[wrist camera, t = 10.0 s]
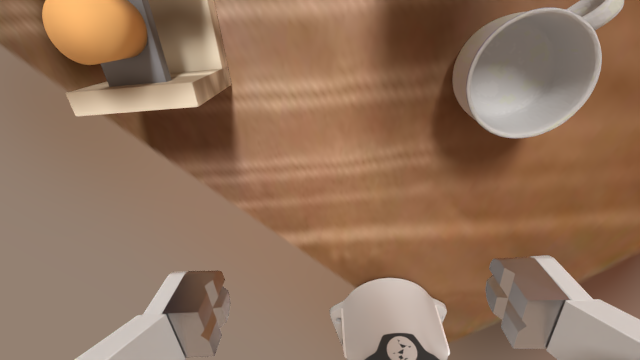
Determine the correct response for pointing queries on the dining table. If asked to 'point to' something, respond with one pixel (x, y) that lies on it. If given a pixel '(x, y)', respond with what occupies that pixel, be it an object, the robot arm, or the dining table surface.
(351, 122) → the dining table surface
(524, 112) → the teacup
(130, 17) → the brown egg
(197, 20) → the wooden napkin holder
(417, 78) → the dining table surface
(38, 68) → the dining table surface
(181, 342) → the robot arm
